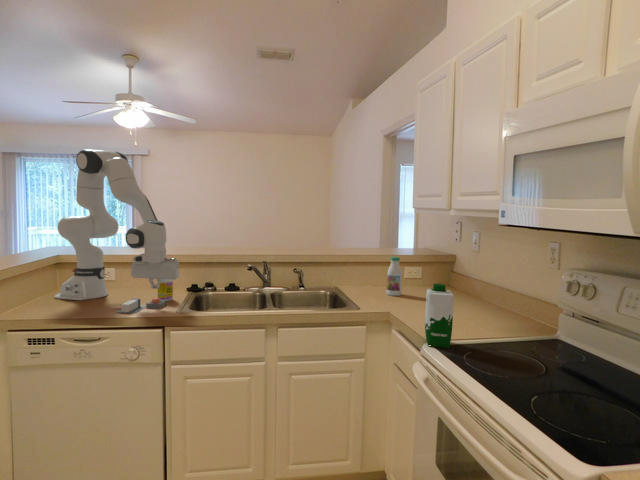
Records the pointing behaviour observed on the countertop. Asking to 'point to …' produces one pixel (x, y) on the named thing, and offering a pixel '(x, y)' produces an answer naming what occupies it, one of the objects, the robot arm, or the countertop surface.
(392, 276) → the milk bottle
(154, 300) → the button
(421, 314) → the countertop surface
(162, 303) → the button collar
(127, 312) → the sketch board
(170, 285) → the supplement bottle
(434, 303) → the milk carton
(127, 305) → the grey rectangular bar
